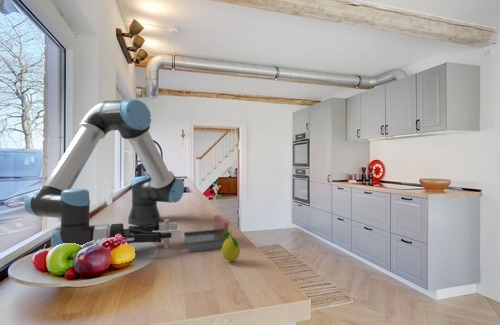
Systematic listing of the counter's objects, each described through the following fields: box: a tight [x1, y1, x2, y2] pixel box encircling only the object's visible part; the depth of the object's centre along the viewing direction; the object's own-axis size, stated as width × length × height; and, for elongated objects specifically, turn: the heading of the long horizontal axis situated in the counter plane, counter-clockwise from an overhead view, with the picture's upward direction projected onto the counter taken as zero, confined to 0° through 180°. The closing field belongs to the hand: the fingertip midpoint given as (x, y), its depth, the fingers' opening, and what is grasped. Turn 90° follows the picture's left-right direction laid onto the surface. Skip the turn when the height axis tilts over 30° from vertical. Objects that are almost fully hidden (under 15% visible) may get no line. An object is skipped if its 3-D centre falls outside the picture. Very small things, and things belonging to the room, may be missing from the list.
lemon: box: [221, 231, 241, 263], centre depth 80 cm, size 7×6×10 cm
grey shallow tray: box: [183, 214, 229, 253], centre depth 98 cm, size 14×14×9 cm
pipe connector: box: [152, 218, 173, 249], centre depth 93 cm, size 10×10×10 cm
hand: (179, 229), depth 95 cm, fingers closed on pipe connector, 10 cm apart
